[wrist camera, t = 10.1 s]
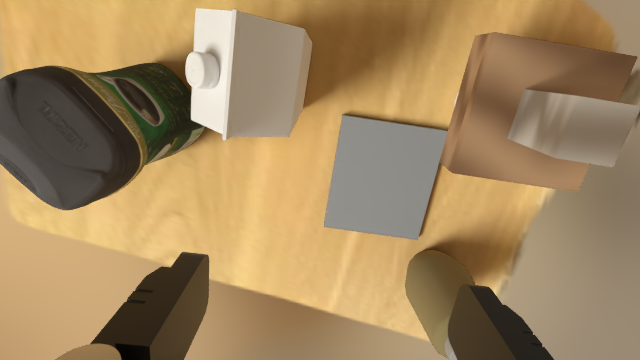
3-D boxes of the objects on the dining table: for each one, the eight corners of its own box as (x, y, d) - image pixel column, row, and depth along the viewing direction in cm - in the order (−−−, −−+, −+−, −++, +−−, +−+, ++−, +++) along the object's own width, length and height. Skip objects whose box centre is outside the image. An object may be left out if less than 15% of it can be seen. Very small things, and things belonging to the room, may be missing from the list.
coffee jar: (110, 95, 38) (-78, 123, 20) (160, 51, 36) (3, 39, 18) (170, 162, 40) (51, 239, 23) (220, 123, 38) (132, 173, 21)
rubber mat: (342, 114, 38) (342, 115, 37) (445, 130, 38) (447, 131, 38) (324, 224, 42) (323, 226, 42) (416, 236, 43) (417, 240, 42)
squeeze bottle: (396, 293, 46) (439, 428, 29) (401, 241, 43) (451, 355, 26) (455, 293, 46) (533, 429, 29) (463, 241, 43) (555, 356, 26)
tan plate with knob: (475, 35, 28) (545, 22, 19) (601, 57, 29) (727, 54, 20) (439, 161, 32) (484, 200, 23) (551, 179, 32) (639, 223, 23)
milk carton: (313, 42, 35) (301, 21, 18) (302, 109, 38) (283, 150, 20) (246, 30, 35) (165, -5, 17) (240, 98, 37) (163, 130, 20)
